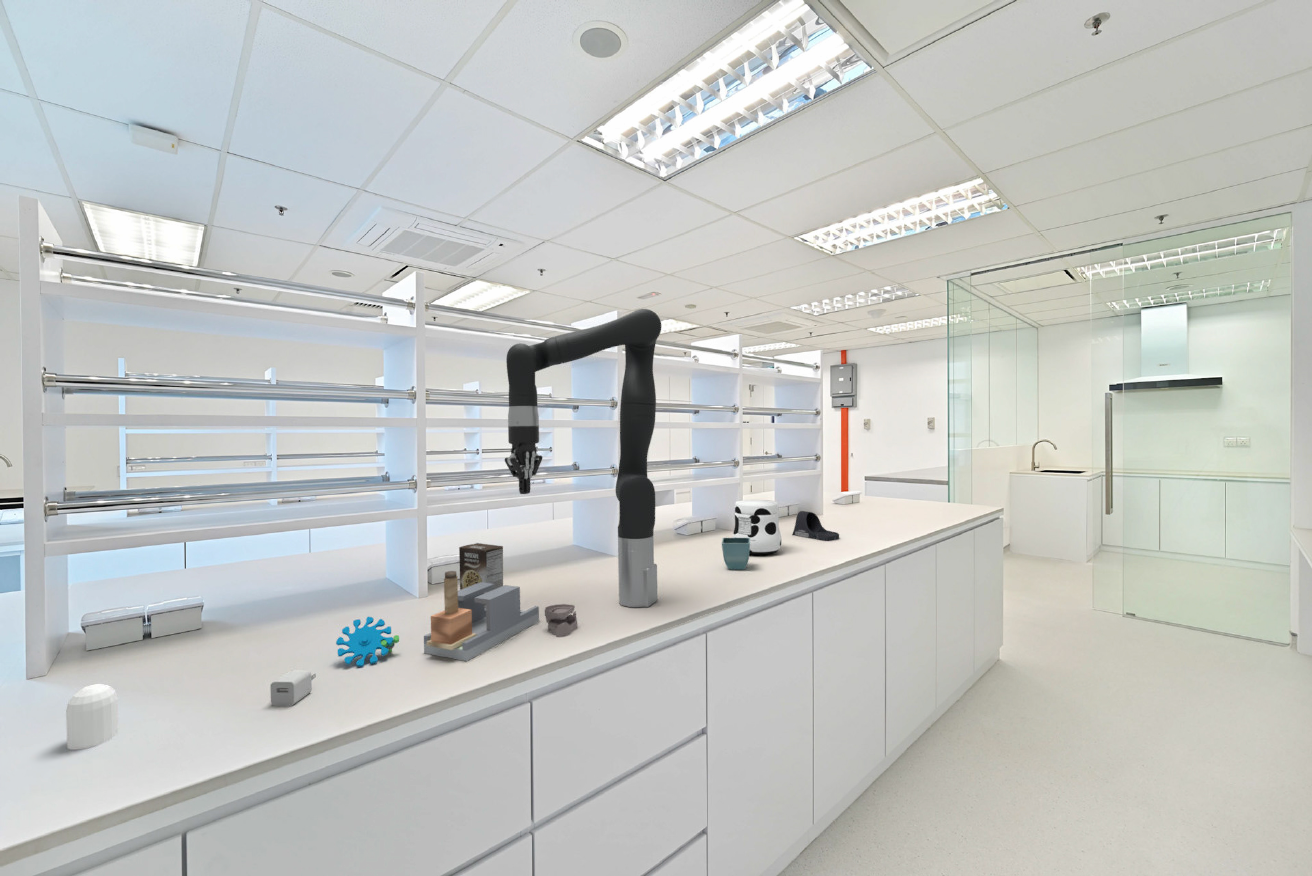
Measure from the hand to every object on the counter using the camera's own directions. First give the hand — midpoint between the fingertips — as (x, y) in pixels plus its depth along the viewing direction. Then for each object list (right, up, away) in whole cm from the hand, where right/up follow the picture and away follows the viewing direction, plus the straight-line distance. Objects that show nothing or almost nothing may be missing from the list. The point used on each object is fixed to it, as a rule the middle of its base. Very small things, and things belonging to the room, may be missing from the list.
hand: (524, 493), depth 139 cm
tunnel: (-4, -29, -18) cm, 35 cm away
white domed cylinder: (-50, -31, -57) cm, 82 cm away
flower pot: (+59, -28, +37) cm, 75 cm away
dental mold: (+12, -29, -15) cm, 35 cm away
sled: (-8, -27, -28) cm, 39 cm away
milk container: (+69, -27, +60) cm, 96 cm away
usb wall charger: (-28, -30, -45) cm, 61 cm away
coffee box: (-11, -29, 0) cm, 31 cm away
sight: (+98, -27, +86) cm, 134 cm away
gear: (-24, -30, -30) cm, 49 cm away
